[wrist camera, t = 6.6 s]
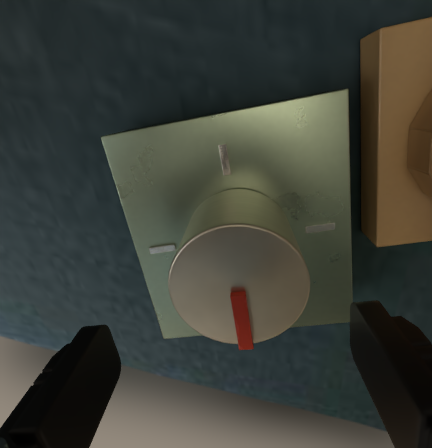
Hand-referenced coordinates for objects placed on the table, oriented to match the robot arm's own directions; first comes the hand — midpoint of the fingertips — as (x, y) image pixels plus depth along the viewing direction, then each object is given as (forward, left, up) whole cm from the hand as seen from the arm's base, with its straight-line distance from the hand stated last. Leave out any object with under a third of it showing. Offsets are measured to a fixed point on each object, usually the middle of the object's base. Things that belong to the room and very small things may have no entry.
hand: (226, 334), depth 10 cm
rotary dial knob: (+1, +1, -6) cm, 6 cm away
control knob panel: (+1, +1, -9) cm, 9 cm away
